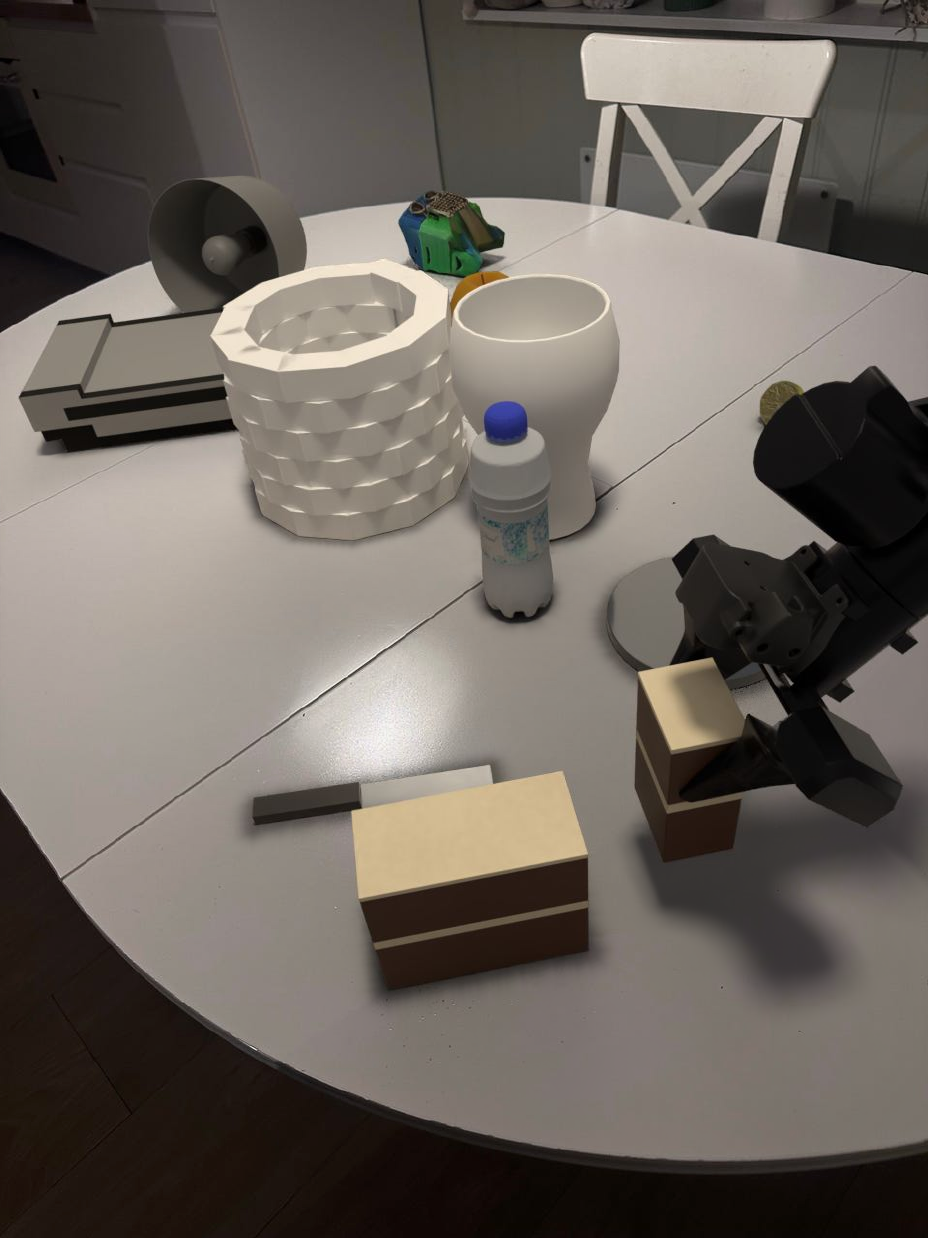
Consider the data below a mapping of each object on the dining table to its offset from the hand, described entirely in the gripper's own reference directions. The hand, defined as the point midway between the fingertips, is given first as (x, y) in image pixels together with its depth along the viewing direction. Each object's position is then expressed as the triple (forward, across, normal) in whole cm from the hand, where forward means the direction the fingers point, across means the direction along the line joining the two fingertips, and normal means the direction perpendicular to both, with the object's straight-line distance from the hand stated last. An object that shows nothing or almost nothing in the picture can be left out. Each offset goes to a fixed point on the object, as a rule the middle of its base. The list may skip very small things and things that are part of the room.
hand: (665, 755), depth 54 cm
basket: (+19, -55, -2) cm, 58 cm away
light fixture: (+28, -111, -11) cm, 115 cm away
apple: (+7, -76, +11) cm, 77 cm away
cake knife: (+22, -11, -5) cm, 25 cm away
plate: (+1, -22, +17) cm, 28 cm away
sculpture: (+6, -108, +12) cm, 109 cm away
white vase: (+8, -43, +10) cm, 45 cm away
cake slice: (+4, 0, +6) cm, 7 cm away
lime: (-13, -50, +31) cm, 60 cm away
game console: (+34, -80, -17) cm, 88 cm away
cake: (+18, +2, 0) cm, 18 cm away
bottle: (+11, -29, +6) cm, 32 cm away
